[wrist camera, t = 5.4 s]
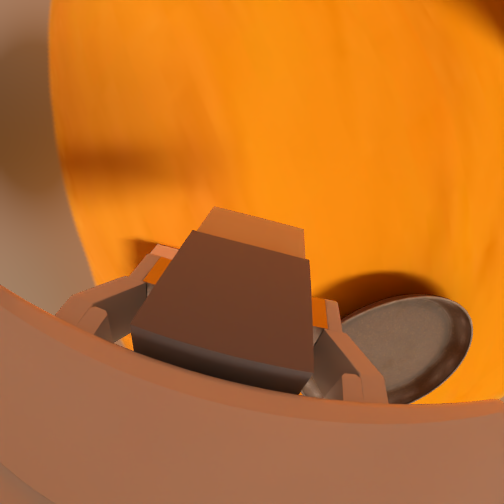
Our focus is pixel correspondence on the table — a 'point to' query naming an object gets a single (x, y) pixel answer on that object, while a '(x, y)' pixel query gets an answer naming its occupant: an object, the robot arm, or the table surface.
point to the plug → (234, 305)
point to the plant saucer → (409, 343)
